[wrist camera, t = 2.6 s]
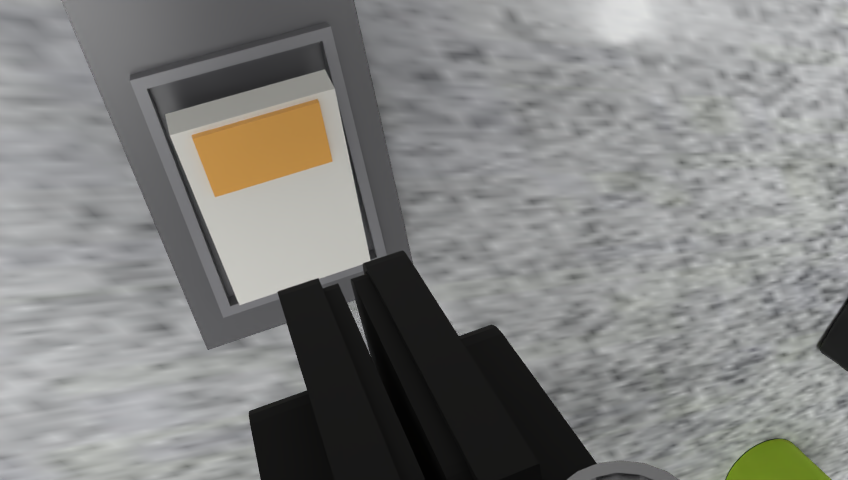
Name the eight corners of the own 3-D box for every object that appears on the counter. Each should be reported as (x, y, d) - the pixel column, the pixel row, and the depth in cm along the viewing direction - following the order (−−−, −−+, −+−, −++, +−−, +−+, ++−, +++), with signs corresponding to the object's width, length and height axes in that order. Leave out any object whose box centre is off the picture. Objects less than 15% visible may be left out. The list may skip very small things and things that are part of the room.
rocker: (361, 241, 31) (372, 265, 30) (233, 283, 30) (240, 308, 29) (324, 69, 25) (336, 91, 24) (164, 114, 24) (170, 139, 23)
